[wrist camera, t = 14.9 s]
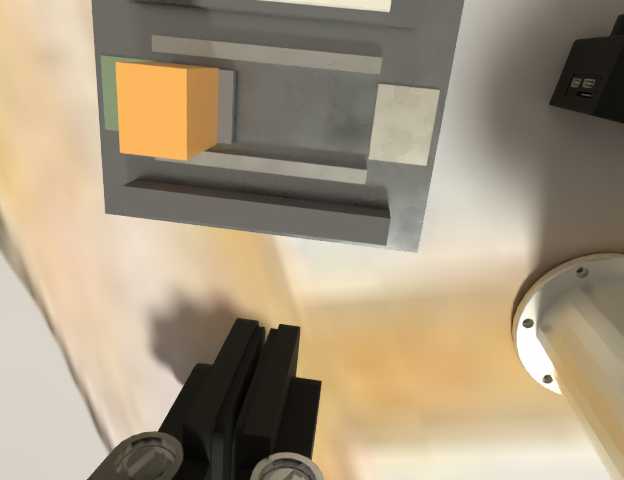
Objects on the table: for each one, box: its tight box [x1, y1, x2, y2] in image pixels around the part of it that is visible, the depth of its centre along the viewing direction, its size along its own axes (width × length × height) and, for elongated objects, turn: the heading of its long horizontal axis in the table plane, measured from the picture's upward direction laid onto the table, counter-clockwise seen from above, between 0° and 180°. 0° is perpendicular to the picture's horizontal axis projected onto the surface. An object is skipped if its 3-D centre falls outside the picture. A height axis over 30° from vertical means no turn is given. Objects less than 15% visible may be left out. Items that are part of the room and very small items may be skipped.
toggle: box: [115, 62, 236, 161], centre depth 30 cm, size 6×5×7 cm
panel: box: [92, 0, 464, 253], centre depth 33 cm, size 24×18×3 cm
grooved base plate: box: [122, 0, 426, 246], centre depth 31 cm, size 19×16×3 cm
